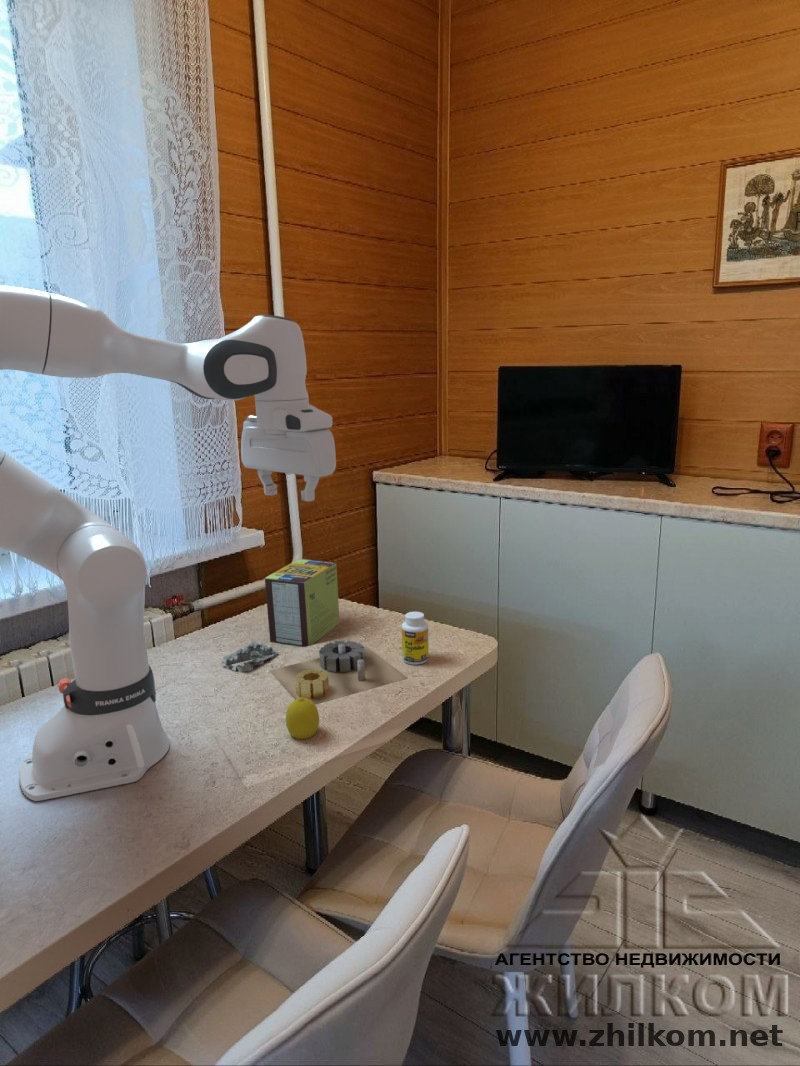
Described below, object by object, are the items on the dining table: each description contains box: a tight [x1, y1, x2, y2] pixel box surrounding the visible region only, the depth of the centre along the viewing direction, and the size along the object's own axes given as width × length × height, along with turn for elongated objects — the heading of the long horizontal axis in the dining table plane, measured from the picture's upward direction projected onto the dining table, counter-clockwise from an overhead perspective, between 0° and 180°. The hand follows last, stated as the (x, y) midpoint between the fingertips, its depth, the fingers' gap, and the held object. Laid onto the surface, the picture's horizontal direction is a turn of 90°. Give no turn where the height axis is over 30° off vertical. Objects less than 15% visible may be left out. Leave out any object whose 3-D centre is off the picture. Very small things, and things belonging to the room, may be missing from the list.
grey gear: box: [318, 640, 365, 672], centre depth 144 cm, size 9×9×3 cm
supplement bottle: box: [401, 611, 430, 666], centre depth 147 cm, size 6×6×10 cm
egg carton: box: [220, 640, 279, 673], centre depth 147 cm, size 11×8×4 cm
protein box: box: [264, 558, 340, 648], centre depth 162 cm, size 10×15×16 cm
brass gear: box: [295, 669, 329, 699], centre depth 132 cm, size 6×6×3 cm
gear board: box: [269, 644, 408, 705], centre depth 139 cm, size 22×18×6 cm
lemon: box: [285, 697, 320, 740], centre depth 118 cm, size 6×6×8 cm
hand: (289, 497), depth 121 cm, fingers open, 8 cm apart
